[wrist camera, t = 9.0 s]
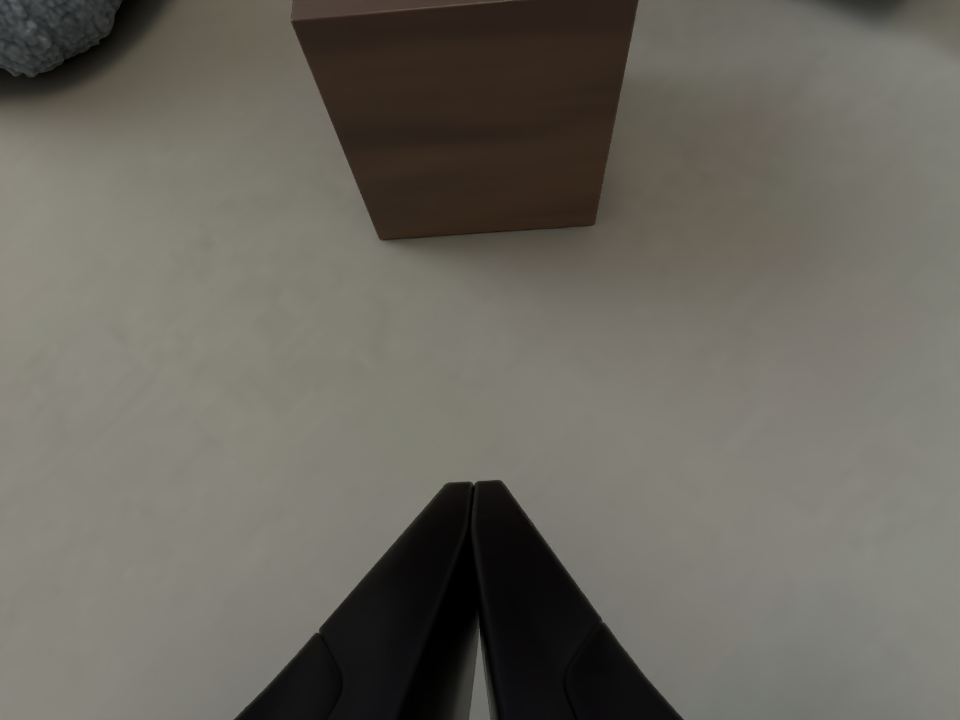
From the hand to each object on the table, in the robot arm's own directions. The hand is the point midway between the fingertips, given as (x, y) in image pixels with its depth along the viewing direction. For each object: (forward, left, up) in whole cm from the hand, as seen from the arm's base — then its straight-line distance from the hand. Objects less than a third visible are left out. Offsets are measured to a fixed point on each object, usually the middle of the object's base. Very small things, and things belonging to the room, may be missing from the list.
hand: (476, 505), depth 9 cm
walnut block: (+13, -7, -9) cm, 18 cm away
